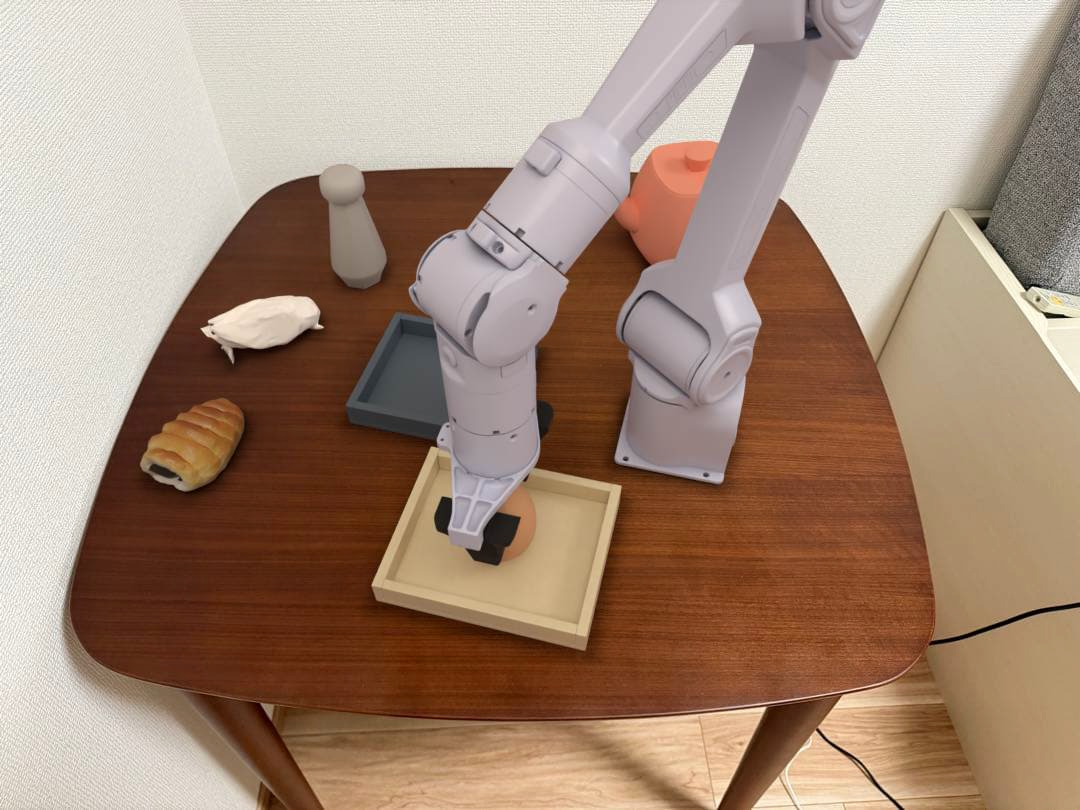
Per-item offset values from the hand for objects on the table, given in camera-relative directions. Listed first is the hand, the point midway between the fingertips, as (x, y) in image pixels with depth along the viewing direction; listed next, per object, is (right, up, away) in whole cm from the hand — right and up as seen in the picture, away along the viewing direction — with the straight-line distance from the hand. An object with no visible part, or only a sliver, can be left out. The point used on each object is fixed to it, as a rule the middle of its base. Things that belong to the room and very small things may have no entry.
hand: (501, 516), depth 63 cm
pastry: (-28, +4, +10) cm, 30 cm away
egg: (0, -3, +3) cm, 5 cm away
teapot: (+18, +26, +28) cm, 43 cm away
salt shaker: (-16, +22, +26) cm, 38 cm away
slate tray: (-6, +10, +15) cm, 19 cm away
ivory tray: (0, -3, +4) cm, 5 cm away
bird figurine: (-24, +15, +20) cm, 34 cm away
